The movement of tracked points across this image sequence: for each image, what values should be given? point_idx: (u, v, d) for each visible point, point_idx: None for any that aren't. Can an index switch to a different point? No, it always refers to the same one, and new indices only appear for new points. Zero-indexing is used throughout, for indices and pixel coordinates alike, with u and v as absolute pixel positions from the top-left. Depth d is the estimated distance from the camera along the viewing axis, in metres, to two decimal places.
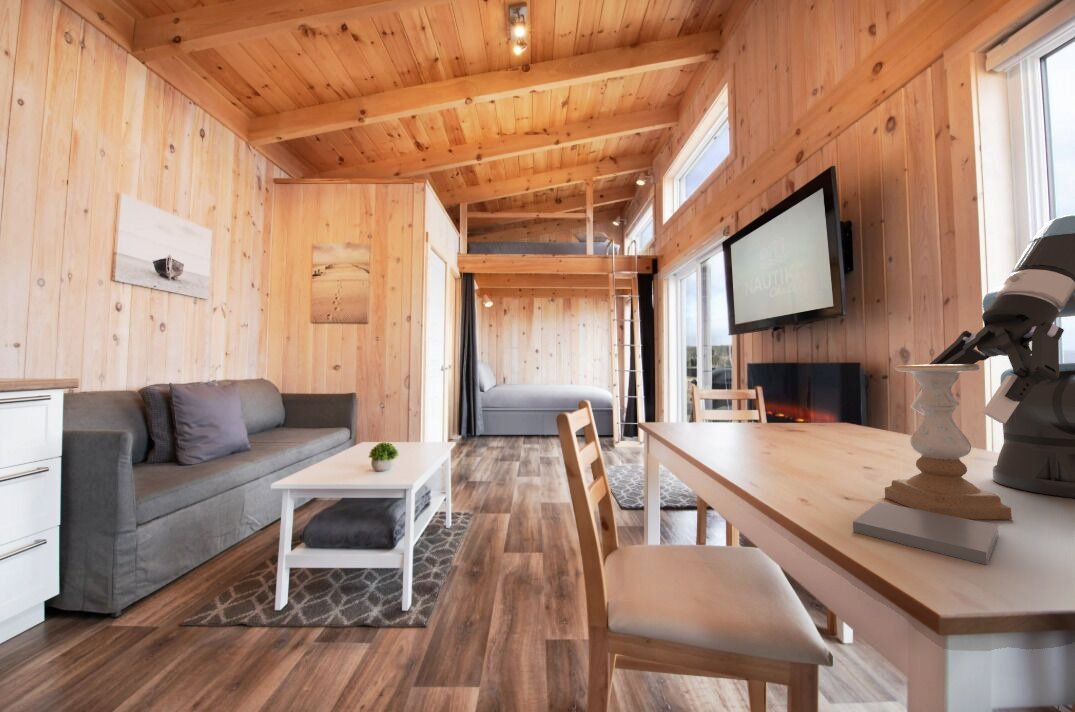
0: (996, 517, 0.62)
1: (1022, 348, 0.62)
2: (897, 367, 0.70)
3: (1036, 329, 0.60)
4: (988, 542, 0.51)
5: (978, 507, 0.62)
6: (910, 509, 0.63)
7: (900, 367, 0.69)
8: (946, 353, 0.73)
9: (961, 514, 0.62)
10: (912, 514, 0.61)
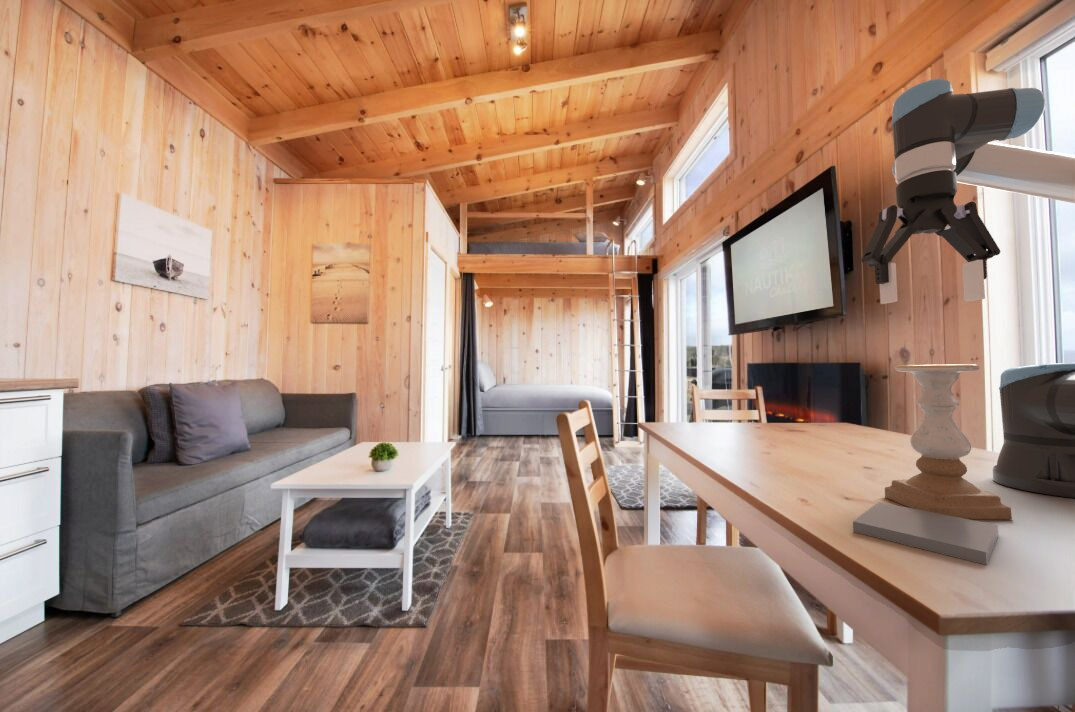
0: (996, 517, 0.62)
1: (903, 229, 0.69)
2: (897, 367, 0.70)
3: None
4: (988, 542, 0.51)
5: (978, 507, 0.62)
6: (910, 509, 0.63)
7: (900, 367, 0.69)
8: None
9: (961, 514, 0.62)
10: (912, 514, 0.61)
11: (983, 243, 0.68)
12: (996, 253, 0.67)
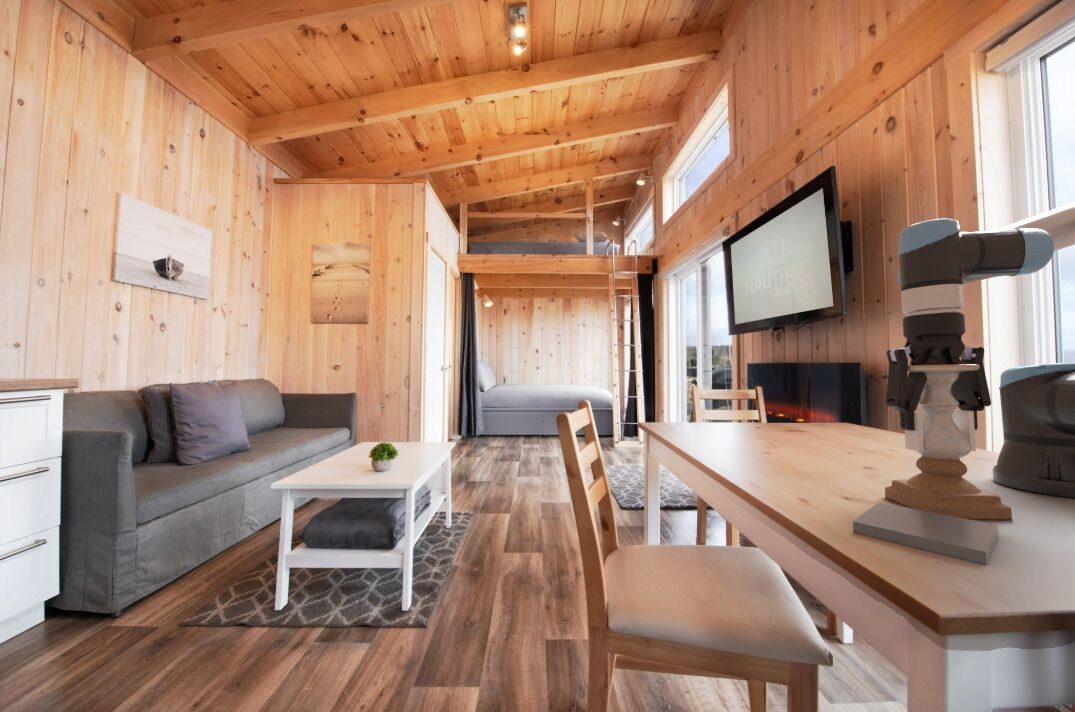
0: (996, 517, 0.62)
1: None
2: None
3: None
4: (988, 542, 0.51)
5: (978, 507, 0.62)
6: (910, 509, 0.63)
7: None
8: (965, 376, 0.69)
9: (962, 514, 0.62)
10: (912, 514, 0.61)
11: (977, 390, 0.67)
12: (986, 404, 0.67)
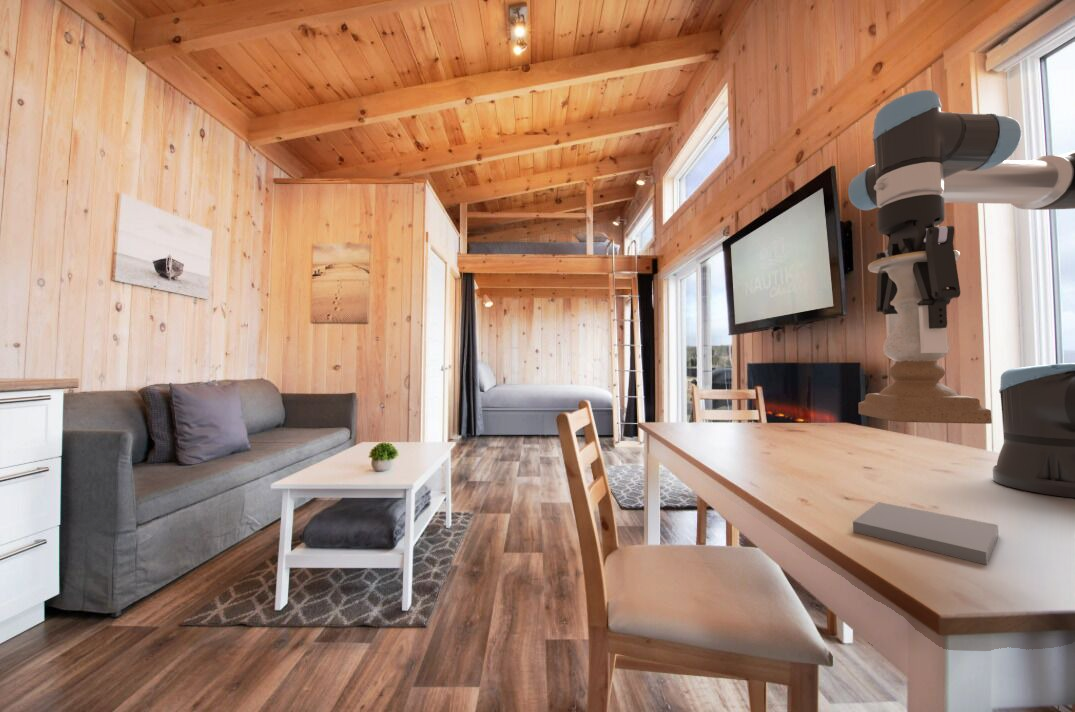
0: None
1: None
2: (920, 253, 0.57)
3: (927, 239, 0.56)
4: (988, 542, 0.51)
5: None
6: (910, 509, 0.63)
7: None
8: (880, 281, 0.67)
9: None
10: (912, 514, 0.61)
11: None
12: None
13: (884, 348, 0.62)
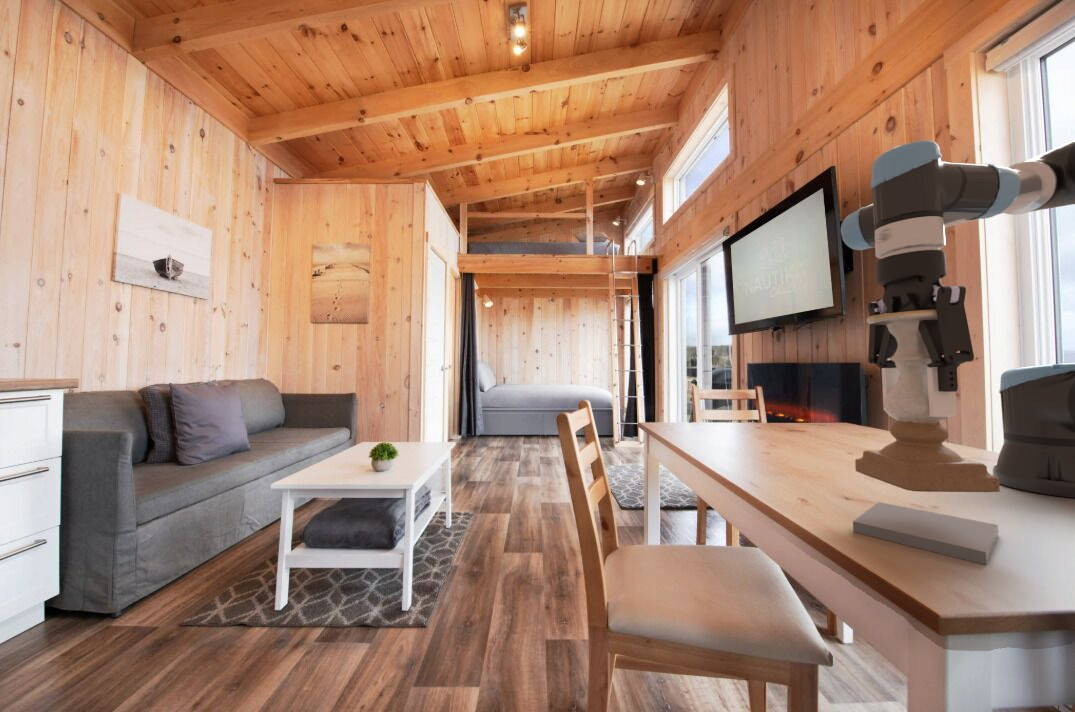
0: None
1: None
2: (929, 311, 0.54)
3: (938, 298, 0.53)
4: (988, 542, 0.51)
5: None
6: (910, 509, 0.63)
7: None
8: (874, 332, 0.64)
9: None
10: (912, 514, 0.61)
11: None
12: None
13: (887, 406, 0.59)
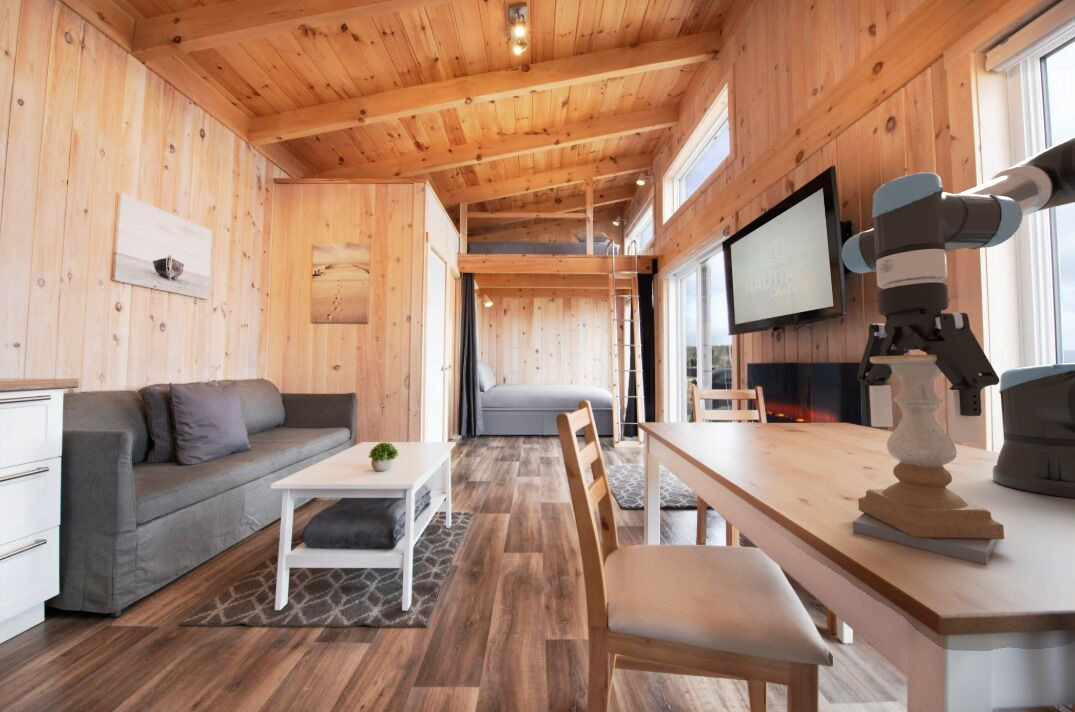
0: None
1: (940, 344, 0.54)
2: (933, 356, 0.54)
3: (942, 325, 0.53)
4: (988, 542, 0.51)
5: None
6: None
7: None
8: (868, 354, 0.66)
9: None
10: None
11: None
12: None
13: (890, 448, 0.59)
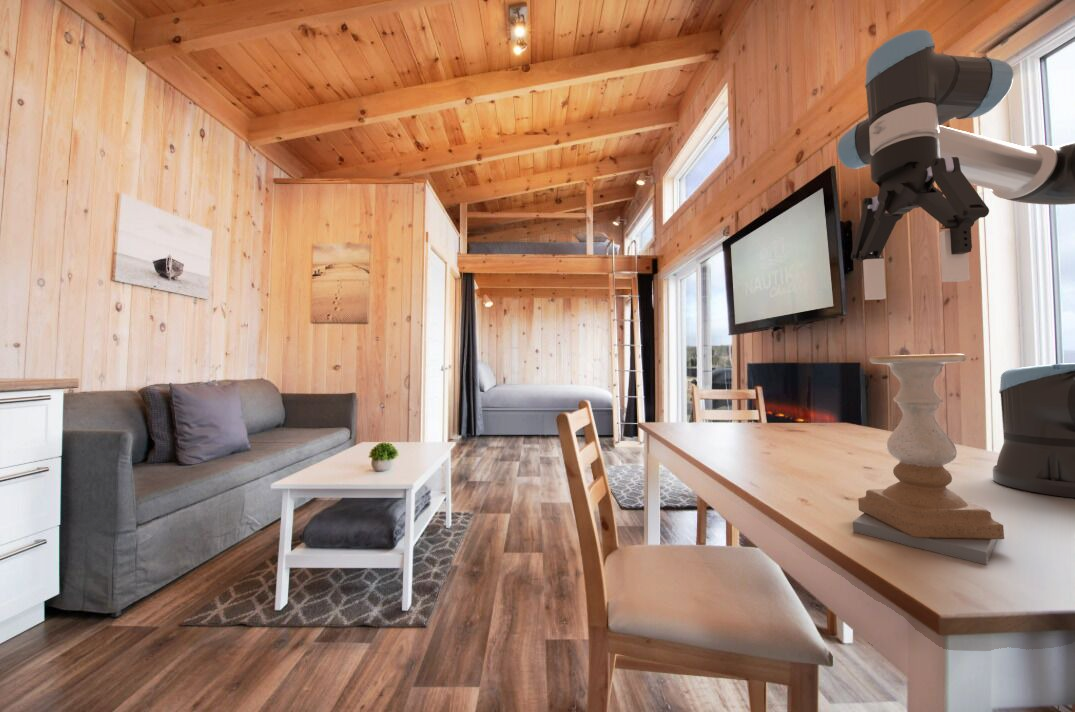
0: None
1: (932, 194, 0.55)
2: (933, 356, 0.54)
3: (933, 171, 0.53)
4: (988, 542, 0.51)
5: None
6: None
7: (942, 356, 0.53)
8: (862, 229, 0.66)
9: None
10: None
11: None
12: None
13: (890, 448, 0.59)
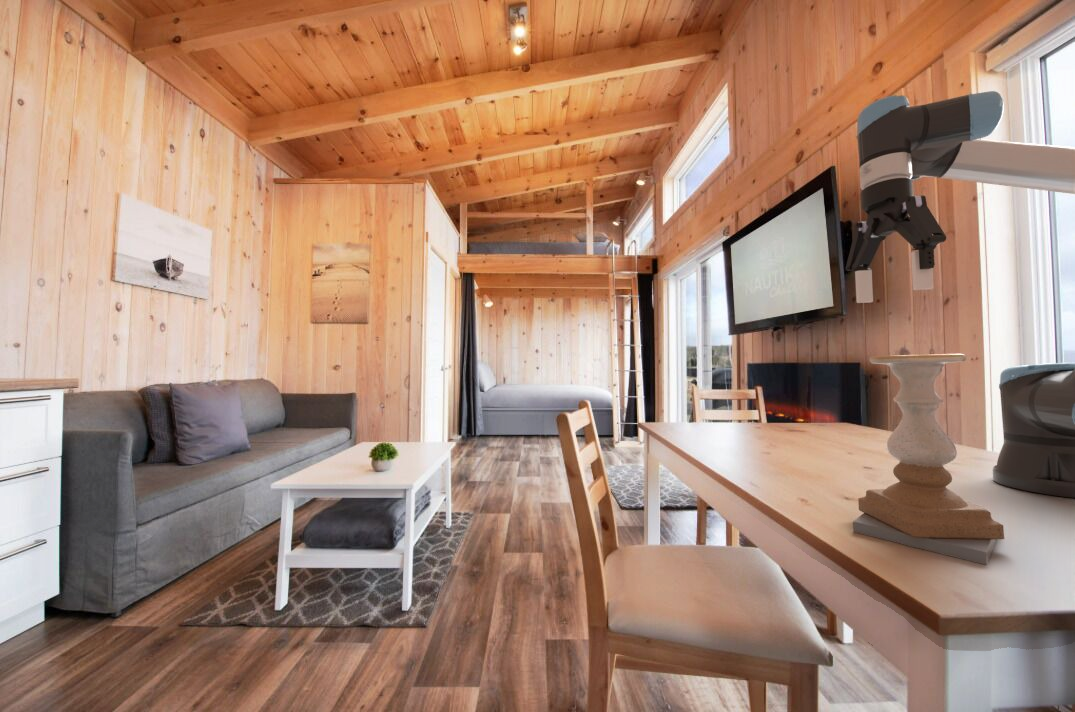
0: None
1: (906, 223, 0.72)
2: (933, 356, 0.54)
3: (907, 206, 0.71)
4: (988, 542, 0.51)
5: None
6: None
7: (942, 356, 0.53)
8: (854, 246, 0.84)
9: None
10: None
11: None
12: None
13: (890, 448, 0.59)
